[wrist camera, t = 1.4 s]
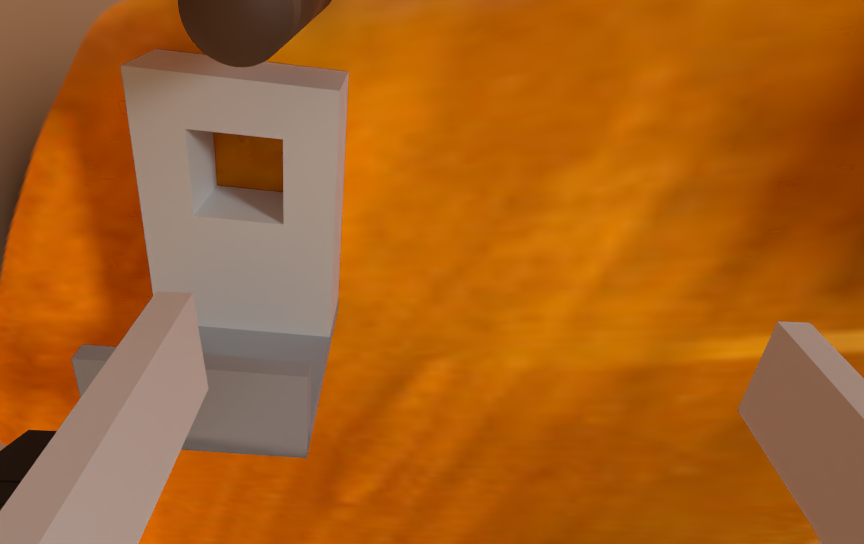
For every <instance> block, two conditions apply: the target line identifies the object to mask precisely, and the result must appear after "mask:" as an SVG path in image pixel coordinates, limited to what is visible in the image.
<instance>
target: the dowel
mask: <svg viewBox="0 0 864 544" xmlns="http://www.w3.org/2000/svg"><path fill="white" fill-rule="evenodd" d="M330 1H331V0H178V6H179V13H180V16H181V20H182V23H183V25H184V28H185V30H186V31H187V33H188V35H189V37H190V38H191V39H192V41H193V42H194V43H195V44H196V46H197V47H198V48H199V49H200V50H201V51H202V52H203V53H205V54H206V55H207V56H209V57H210V58H212V59H214V60H215V61H217V62H220V63H222V64H225V65H228V66H233V67H251V66H255V65H258V64H260V63H263V62H264V61H266V60H268V59H269V58H270V57H271V56H273V55H274V54H275V53H276V52H277V51H278V50H279V49H280V48H281V47H283V46H284V45H285V44H286V43H287V42H288V41H289V40H290V39H291V38H292V37H294V36H295V35H296V34H297V33H298V32H299V31H300V30H301V29H302V28H304V27H305V26H306V25H307V24H308V23H309V22H310V21H311V20H312V19H313V18H315V17H316V16H317V15H318V14H319V13H320V12H321V11H322V10H323V9H324V8H326V6H327V5H328V4H329V3H330Z"/></svg>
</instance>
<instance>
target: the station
mask: <svg viewBox="0 0 864 544" xmlns="http://www.w3.org/2000/svg"><path fill="white" fill-rule="evenodd" d="M120 66H121V73H122V80H123V87H124V94H125V101H126V108H127V115H128V122H129V129H130V136H131V143H132V150H133V157H134V164H135V171H136V178H137V185H138V192H139V199H140V206H141V213H142V221H143V228H144V235H145V242H146V249H147V256H148V263H149V270H150V277H151V284H152V291H153V296H154V294H155V293H156V292H157V291H163V292H184V293H193V298H194V304H195V310H196V316H197V322H198V328H199V334H200V340H201V346H202V352H203V358H204V364H205V370H206V376H207V382H208V388H209V389H208V391H207V393H206V395H205V398H204V400H203V402H202V404H201V406H200V409H199V411H198V413H197V415H196V417H195V420H194V422H193V424H192V426H191V428H190V431H189V433H188V435H187V437H186V439H185V442H184V444H183V446H182V448H181V450H196V451H210V452H225V453H240V454H255V455H269V456H284V457H299V458H307V455H308V450H309V445H310V440H311V436H312V431H313V426H314V421H315V416H316V412H317V407H318V402H319V397H320V393H321V388H322V383H323V378H324V373H325V369H326V364H327V359H328V354H329V350H330V345H331V340H332V335H333V331H334V326H335V321H336V316H337V311H338V291H339V269H340V248H341V226H342V205H343V183H344V162H345V141H346V119H347V98H348V76H349V72H347V71H339V70H330V69H322V68H314V67H305V66H297V65H288V64H280V63H271V62H263V63H260V64H258V65H255V66H251V67H233V66H228V65H225V64H222V63H220V62H217V61H215V60H214V59H212V58H210V57H209V56H207V55H204V54H195V53H187V52H178V51H170V50H161V49H154V50H152V51H150V52H148V53H146V54H143V55H141V56H139V57H137V58H135V59H133V60H131V61H129V62H127V63H125V64H123V65H120ZM213 132H219V133H228V134H237V135H246V136H255V137H265V138H274V139H283V192H276V191H267V190H257V189H247V188H237V187H227V186H218V185H217V179H216V165H215V151H214V136H213ZM116 348H117V347H110V346H98V345H85V344H83V345H82V346H81V347H80V348H79V350H78V351H77V352H76V353H75V355H74V356H73V357H72V358H71V360H72V364H73V368H74V372H75V376H76V380H77V385H78V389H79V393H80V397H82V395H83V394H84V393H85V391H86V390H87V388H88V387H89V386H90V384H91V383H92V381H93V380H94V379H95V377H96V376H97V374H98V373H99V372H100V370H101V369H102V367H103V366H104V365H105V363H106V362H107V360H108V359H109V358H110V356H111V355H112V353H113V352H114V351H115V349H116Z"/></svg>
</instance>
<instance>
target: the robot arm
mask: <svg viewBox="0 0 864 544" xmlns="http://www.w3.org/2000/svg"><path fill="white" fill-rule="evenodd" d="M208 389H209V388H208V382H207V376H206V370H205V364H204V358H203V352H202V346H201V340H200V334H199V328H198V322H197V316H196V310H195V304H194V298H193V293H184V292H163V291H157V292H156V293H155V294H154V296H153V297H152V299H151V300H150V301H149V303H148V304H147V306H146V307H145V308H144V310H143V311H142V313H141V314H140V315H139V317H138V318H137V320H136V321H135V322H134V324H133V325H132V327H131V328H130V329H129V331H128V332H127V334H126V335H125V337H124V338H123V339H122V341H121V342H120V344H119V345H118V346H117V348H116V349H115V351H114V352H113V353H112V355H111V356H110V358H109V359H108V360H107V362H106V363H105V365H104V366H103V367H102V369H101V370H100V372H99V373H98V374H97V376H96V377H95V379H94V380H93V381H92V383H91V384H90V386H89V387H88V388H87V390H86V391H85V393H84V394H83V395H82V397H81V398H80V400H79V401H78V402H77V404H76V405H75V407H74V408H73V409H72V411H71V412H70V414H69V415H68V417H67V418H66V419H65V421H64V422H63V424H62V425H61V426H60V428H59V429H58V431H39V430H28V431H27V432H25V433H24V434H23V435H21V436H20V437H19V438H17V439H16V440H14V441H13V442H12V443H10V444H9V445H8V446H6V447H5V448H4V449H2V450H1V451H0V544H138V543H139V541H140V538H141V536H142V534H143V532H144V530H145V527H146V525H147V523H148V521H149V519H150V516H151V514H152V512H153V510H154V508H155V505H156V503H157V501H158V499H159V497H160V494H161V492H162V490H163V488H164V486H165V483H166V481H167V479H168V477H169V475H170V472H171V470H172V468H173V466H174V464H175V461H176V459H177V457H178V455H179V453H180V450H181V448H182V446H183V444H184V442H185V439H186V437H187V435H188V433H189V431H190V428H191V426H192V424H193V422H194V420H195V417H196V415H197V413H198V411H199V409H200V406H201V404H202V402H203V400H204V398H205V395H206V393H207V391H208ZM738 412H739V414H740V415H741V417H742V418H743V420H744V421H745V423H746V424H747V426H748V428H749V429H750V431H751V432H752V434H753V435H754V437H755V438H756V440H757V442H758V443H759V445H760V446H761V448H762V449H763V451H764V453H765V454H766V456H767V457H768V459H769V460H770V462H771V463H772V465H773V467H774V468H775V470H776V471H777V473H778V474H779V476H780V478H781V479H782V481H783V482H784V484H785V485H786V487H787V488H788V490H789V492H790V493H791V495H792V496H793V498H794V499H795V501H796V502H797V504H798V506H799V507H800V509H801V510H802V512H803V513H804V515H805V517H806V518H807V520H808V521H809V523H810V524H811V526H812V527H813V529H814V531H815V532H816V534H817V535H818V537H819V538H820V540H821V542H822V543H823V544H864V379H863V377H862V376H861V375H860V374H859V373H858V372H857V371H856V370H855V369H854V368H853V367H852V366H851V365H850V364H849V363H848V362H847V361H846V360H845V359H844V358H843V357H842V356H841V355H840V353H839V352H838V351H837V350H836V349H835V348H834V347H833V346H832V345H831V344H830V343H829V342H828V341H827V340H826V339H825V338H824V337H823V336H822V335H821V334H820V333H819V332H818V331H817V330H816V328H815V327H814V326H813V325H812V324H811V323H801V322H780V321H778V322H777V324H776V326H775V329H774V331H773V333H772V335H771V337H770V340H769V342H768V344H767V346H766V348H765V351H764V353H763V355H762V357H761V360H760V362H759V364H758V366H757V368H756V371H755V373H754V375H753V377H752V379H751V382H750V384H749V386H748V388H747V391H746V393H745V395H744V397H743V399H742V402H741V404H740V406H739V408H738Z"/></svg>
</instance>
